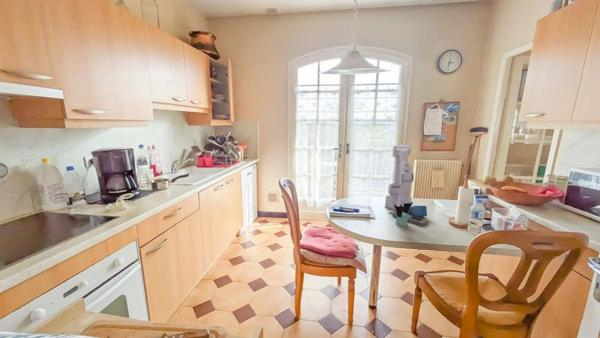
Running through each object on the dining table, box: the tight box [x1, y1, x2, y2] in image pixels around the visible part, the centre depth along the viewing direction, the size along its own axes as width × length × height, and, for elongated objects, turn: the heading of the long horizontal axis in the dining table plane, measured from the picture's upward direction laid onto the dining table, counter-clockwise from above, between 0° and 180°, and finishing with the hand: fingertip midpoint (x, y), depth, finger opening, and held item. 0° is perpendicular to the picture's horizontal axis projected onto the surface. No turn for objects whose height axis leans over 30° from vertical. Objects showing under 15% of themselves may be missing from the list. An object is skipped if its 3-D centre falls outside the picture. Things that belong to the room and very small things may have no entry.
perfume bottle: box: [408, 205, 428, 217], centre depth 150 cm, size 6×6×12 cm
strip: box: [388, 210, 429, 227], centre depth 148 cm, size 22×7×3 cm, turn 41°
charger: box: [395, 213, 409, 228], centre depth 140 cm, size 5×4×7 cm
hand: (402, 215), depth 139 cm, fingers open, 7 cm apart
